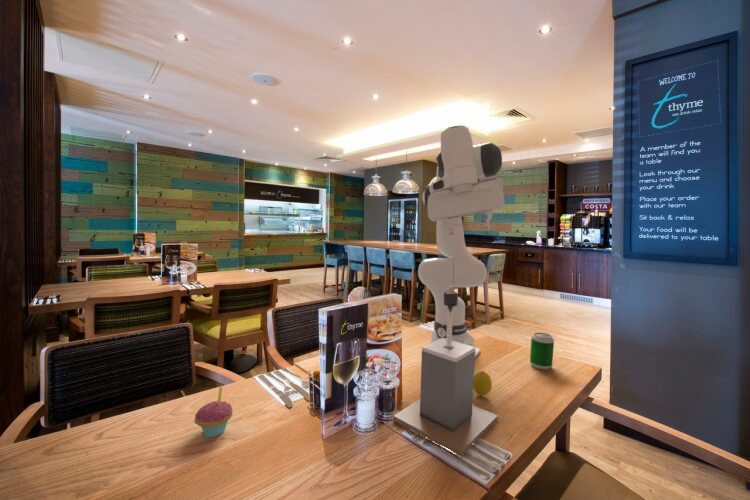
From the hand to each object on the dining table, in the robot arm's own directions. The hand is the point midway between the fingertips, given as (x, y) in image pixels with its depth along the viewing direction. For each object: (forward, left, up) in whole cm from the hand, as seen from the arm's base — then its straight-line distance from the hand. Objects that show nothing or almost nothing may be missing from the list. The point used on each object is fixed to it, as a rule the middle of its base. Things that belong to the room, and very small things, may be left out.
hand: (468, 231), depth 91 cm
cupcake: (+52, -40, -51) cm, 83 cm away
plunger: (+7, -1, -40) cm, 41 cm away
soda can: (-48, +6, -51) cm, 70 cm away
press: (+7, -1, -51) cm, 51 cm away
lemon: (-12, 0, -51) cm, 52 cm away
